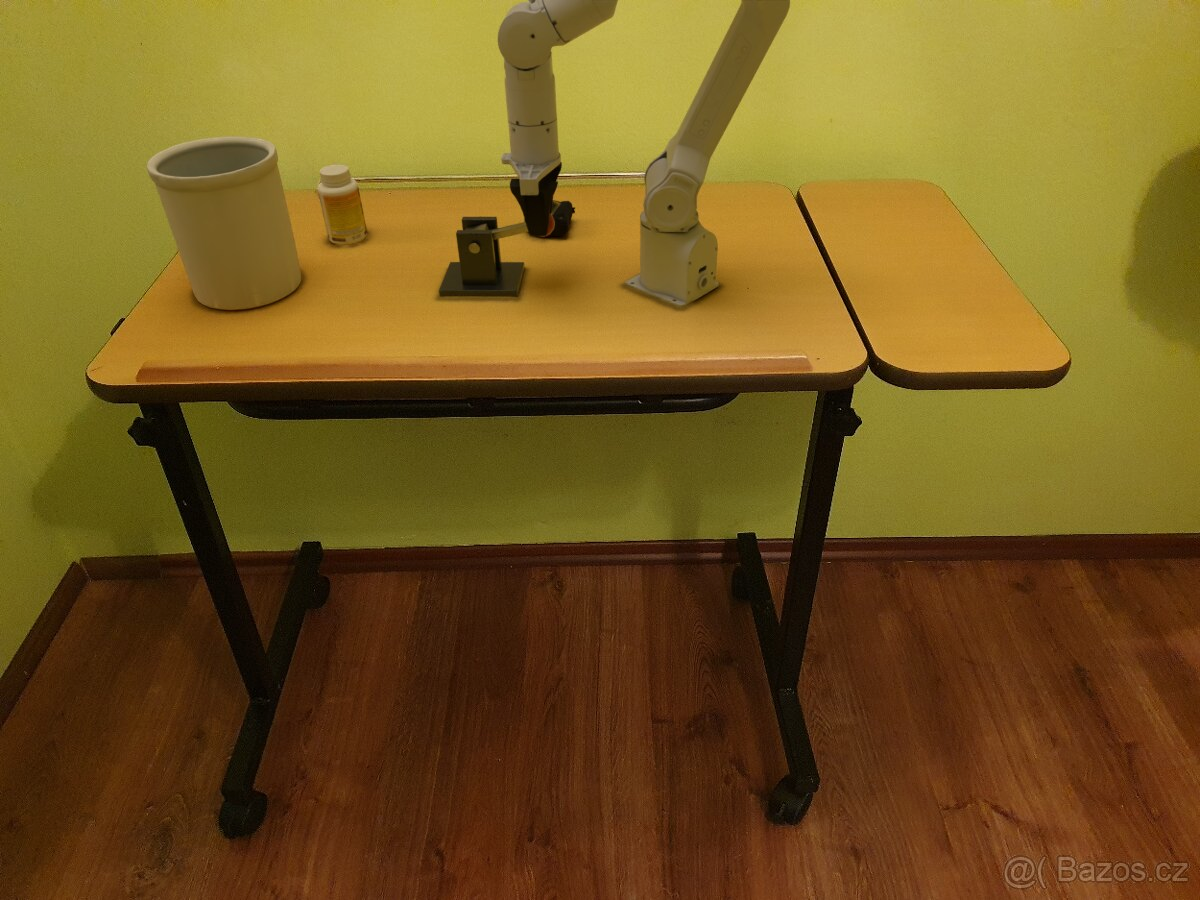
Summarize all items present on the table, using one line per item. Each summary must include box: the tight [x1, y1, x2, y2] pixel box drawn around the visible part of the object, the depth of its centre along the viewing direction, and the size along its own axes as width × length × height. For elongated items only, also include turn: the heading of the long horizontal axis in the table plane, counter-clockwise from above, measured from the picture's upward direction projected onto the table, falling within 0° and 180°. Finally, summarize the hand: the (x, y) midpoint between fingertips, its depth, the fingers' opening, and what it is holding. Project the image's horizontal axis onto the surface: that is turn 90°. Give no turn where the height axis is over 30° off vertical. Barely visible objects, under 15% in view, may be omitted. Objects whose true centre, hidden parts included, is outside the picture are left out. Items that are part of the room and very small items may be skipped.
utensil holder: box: [146, 135, 302, 311], centre depth 114 cm, size 15×15×18 cm
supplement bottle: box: [317, 163, 368, 246], centre depth 127 cm, size 6×6×10 cm
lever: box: [466, 214, 555, 240], centre depth 113 cm, size 12×3×3 cm, turn 87°
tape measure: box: [523, 199, 576, 238], centre depth 129 cm, size 7×7×4 cm
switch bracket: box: [438, 216, 525, 298], centre depth 116 cm, size 10×8×8 cm
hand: (540, 228), depth 113 cm, fingers open, 3 cm apart
